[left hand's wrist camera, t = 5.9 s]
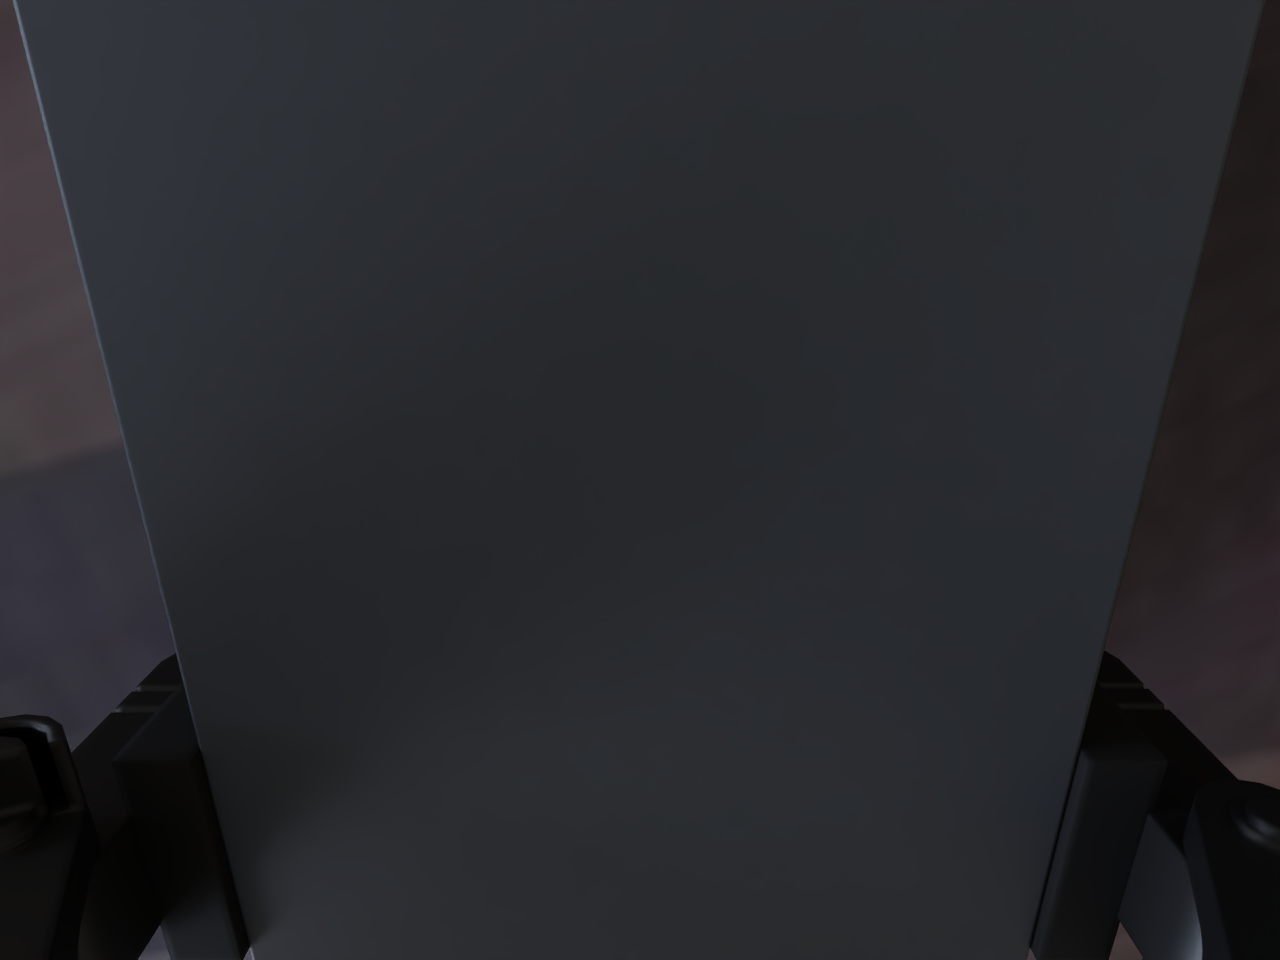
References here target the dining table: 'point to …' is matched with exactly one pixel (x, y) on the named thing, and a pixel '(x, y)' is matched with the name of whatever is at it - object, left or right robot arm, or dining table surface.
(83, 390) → the dining table surface
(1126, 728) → the left robot arm
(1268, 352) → the dining table surface
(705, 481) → the thick board
